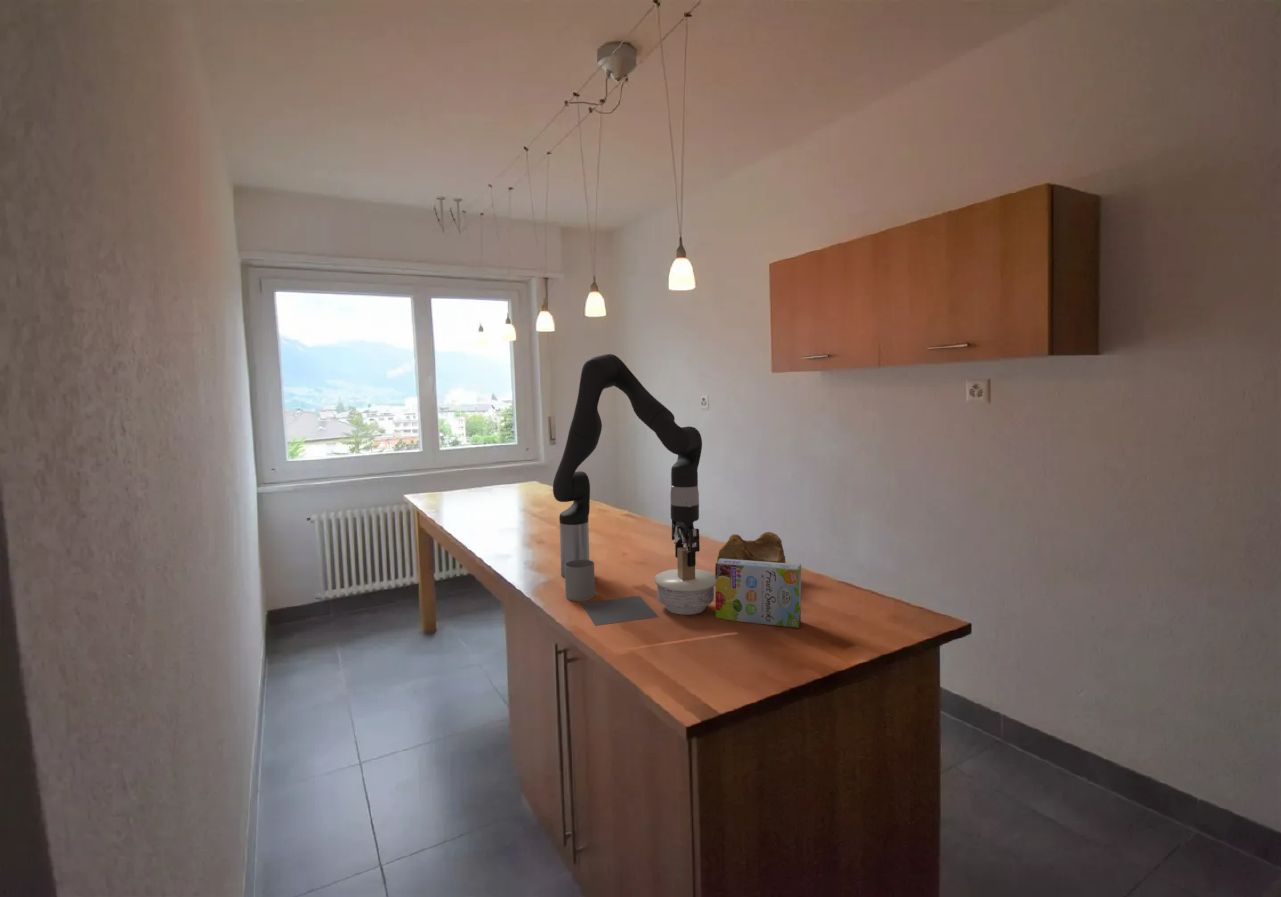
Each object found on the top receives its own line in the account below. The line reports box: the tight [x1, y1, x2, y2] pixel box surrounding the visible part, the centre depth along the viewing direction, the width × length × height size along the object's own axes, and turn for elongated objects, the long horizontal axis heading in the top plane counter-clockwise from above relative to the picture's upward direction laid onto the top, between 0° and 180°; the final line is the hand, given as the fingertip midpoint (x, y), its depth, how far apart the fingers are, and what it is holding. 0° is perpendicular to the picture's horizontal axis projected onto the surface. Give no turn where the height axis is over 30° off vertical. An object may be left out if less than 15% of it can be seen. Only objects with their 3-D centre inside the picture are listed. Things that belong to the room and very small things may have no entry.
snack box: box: [714, 558, 802, 629], centre depth 157 cm, size 21×6×15 cm, turn 70°
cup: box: [564, 559, 596, 602], centre depth 176 cm, size 8×8×10 cm
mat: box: [580, 595, 660, 627], centre depth 165 cm, size 17×17×1 cm
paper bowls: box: [656, 584, 715, 616], centre depth 166 cm, size 15×15×8 cm
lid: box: [654, 546, 715, 591], centre depth 165 cm, size 17×17×9 cm
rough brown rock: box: [716, 531, 786, 563], centre depth 185 cm, size 23×17×15 cm
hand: (685, 561), depth 165 cm, fingers open, 8 cm apart
